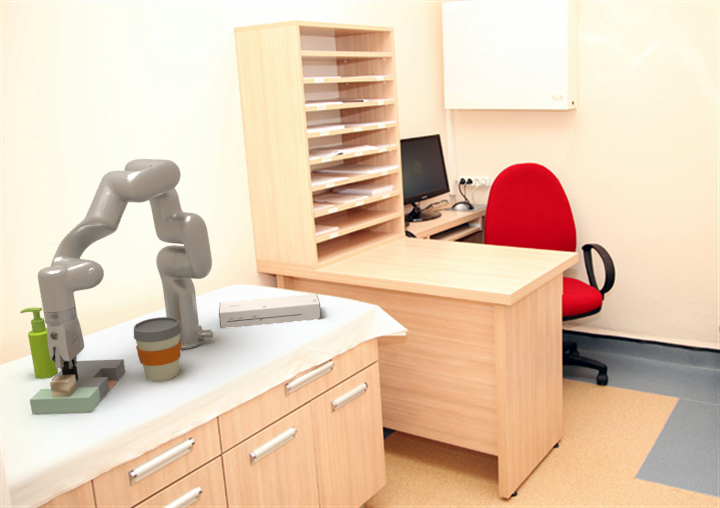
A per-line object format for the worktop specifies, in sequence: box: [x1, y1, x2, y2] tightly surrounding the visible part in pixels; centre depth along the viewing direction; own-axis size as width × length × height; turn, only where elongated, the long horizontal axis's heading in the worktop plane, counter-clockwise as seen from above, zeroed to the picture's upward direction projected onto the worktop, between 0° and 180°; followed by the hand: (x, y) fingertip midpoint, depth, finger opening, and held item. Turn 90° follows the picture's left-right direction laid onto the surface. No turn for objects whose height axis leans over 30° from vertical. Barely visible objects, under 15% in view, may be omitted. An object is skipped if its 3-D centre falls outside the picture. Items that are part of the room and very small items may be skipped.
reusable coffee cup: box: [133, 316, 182, 382], centre depth 183 cm, size 13×12×15 cm
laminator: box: [218, 293, 322, 329], centre depth 228 cm, size 34×12×6 cm, turn 100°
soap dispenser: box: [19, 307, 59, 380], centre depth 186 cm, size 6×7×20 cm
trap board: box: [29, 358, 126, 415], centre depth 176 cm, size 15×24×4 cm, turn 0°
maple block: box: [49, 375, 77, 397], centre depth 166 cm, size 4×4×4 cm
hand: (71, 381), depth 170 cm, fingers closed
